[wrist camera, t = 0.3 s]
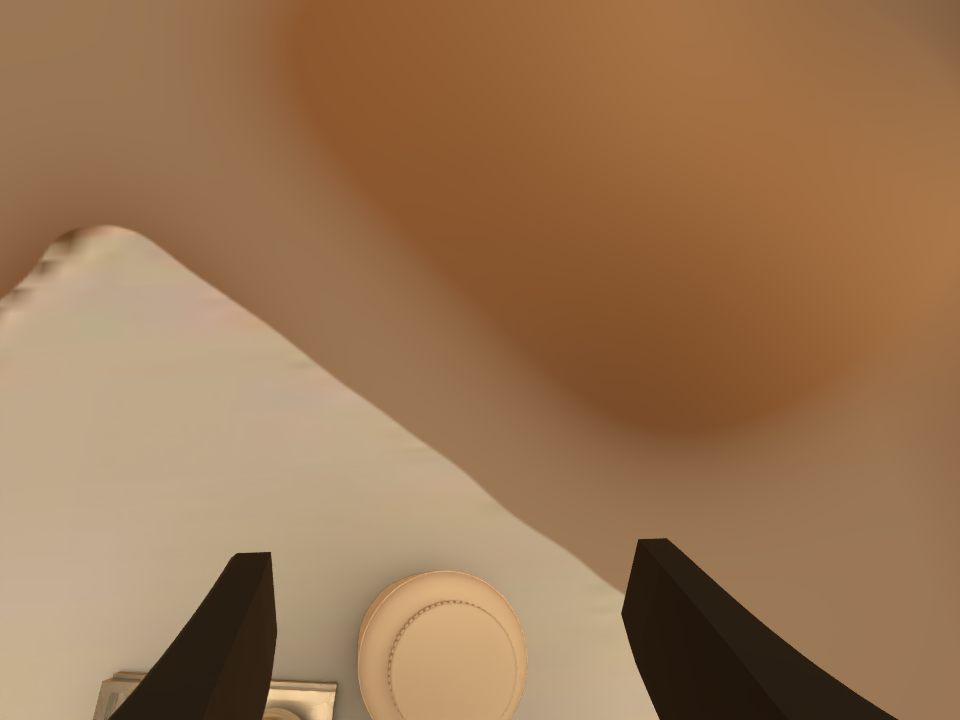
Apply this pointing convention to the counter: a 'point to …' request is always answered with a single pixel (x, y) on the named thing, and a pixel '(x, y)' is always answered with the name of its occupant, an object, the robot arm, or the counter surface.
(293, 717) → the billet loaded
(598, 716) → the counter surface
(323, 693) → the crate
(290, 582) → the counter surface
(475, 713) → the pill bottle
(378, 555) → the counter surface
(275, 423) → the counter surface
